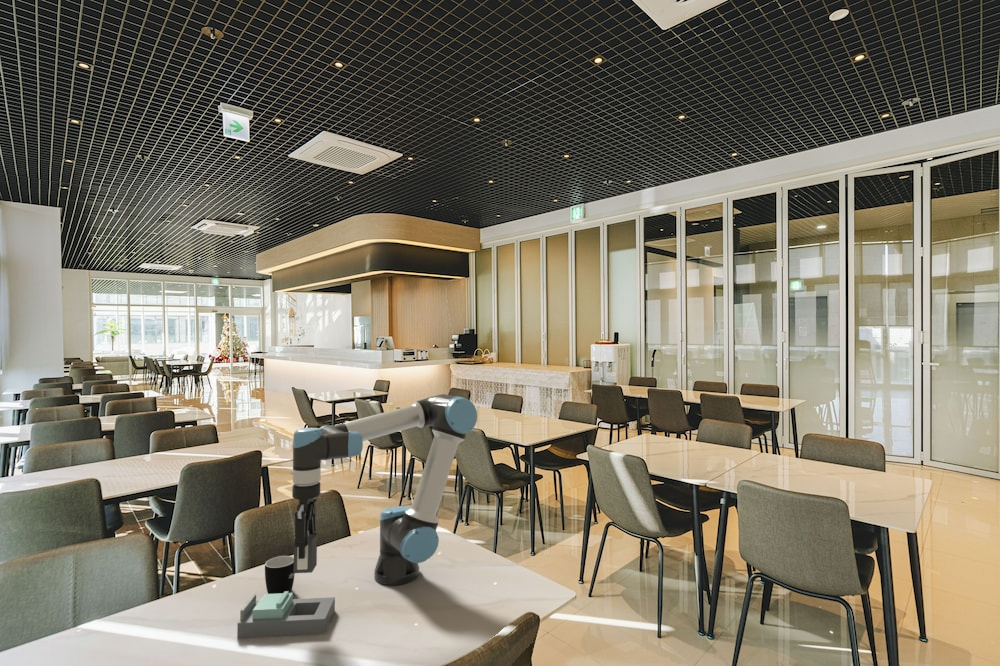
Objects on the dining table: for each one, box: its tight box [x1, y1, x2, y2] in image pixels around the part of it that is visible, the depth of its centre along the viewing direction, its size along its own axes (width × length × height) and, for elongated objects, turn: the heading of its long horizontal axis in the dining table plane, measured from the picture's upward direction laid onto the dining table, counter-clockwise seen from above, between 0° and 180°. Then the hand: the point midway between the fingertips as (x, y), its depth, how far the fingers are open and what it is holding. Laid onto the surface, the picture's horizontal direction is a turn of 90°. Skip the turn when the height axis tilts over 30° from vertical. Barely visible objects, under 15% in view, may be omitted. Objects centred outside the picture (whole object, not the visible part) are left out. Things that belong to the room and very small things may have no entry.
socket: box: [236, 593, 336, 639], centre depth 143 cm, size 23×12×7 cm, turn 96°
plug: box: [293, 531, 318, 574], centre depth 144 cm, size 5×5×11 cm
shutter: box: [252, 591, 294, 619], centre depth 142 cm, size 8×9×4 cm
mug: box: [264, 555, 296, 594], centre depth 162 cm, size 12×9×10 cm
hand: (305, 564), depth 144 cm, fingers closed on plug, 5 cm apart
